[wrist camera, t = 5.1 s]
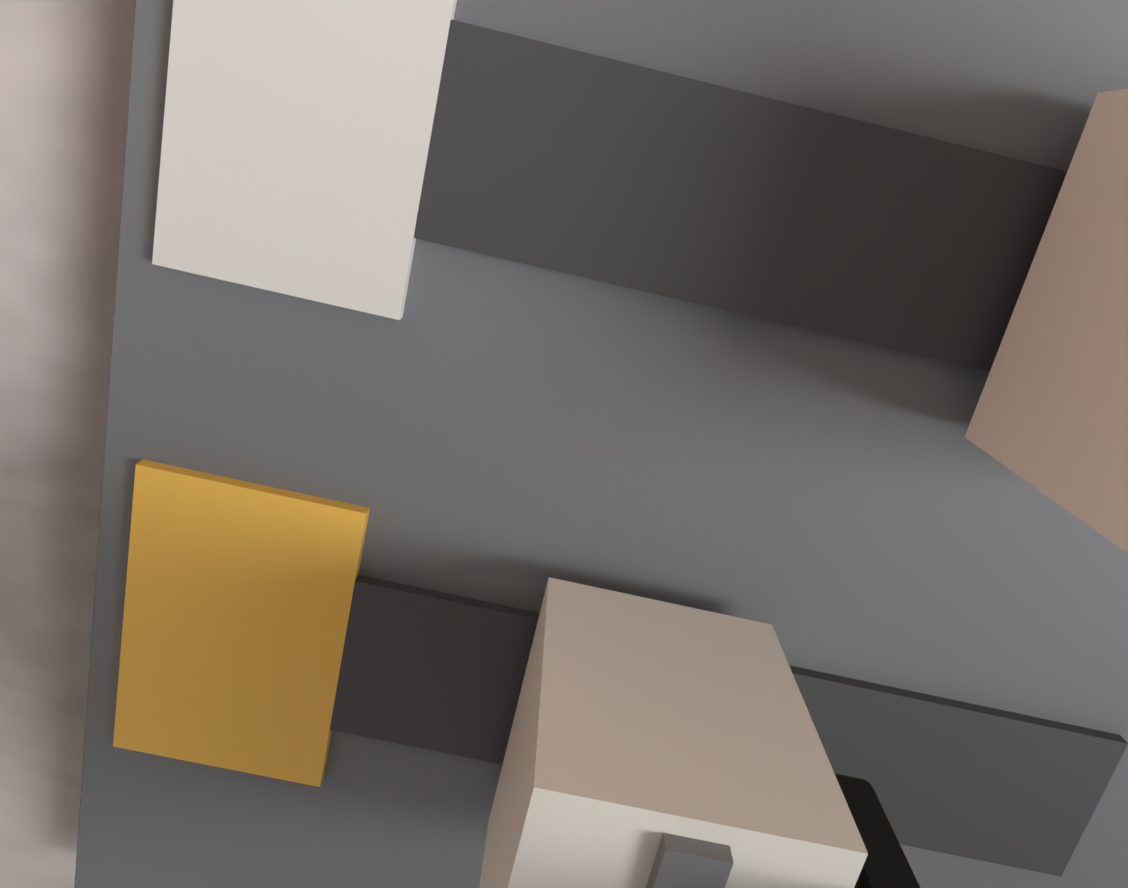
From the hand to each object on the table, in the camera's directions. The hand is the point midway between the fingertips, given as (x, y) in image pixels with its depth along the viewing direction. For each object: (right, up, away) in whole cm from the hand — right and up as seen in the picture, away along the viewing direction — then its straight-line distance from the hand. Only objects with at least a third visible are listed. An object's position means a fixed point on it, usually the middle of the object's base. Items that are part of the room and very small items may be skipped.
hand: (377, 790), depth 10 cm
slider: (+3, 0, +3) cm, 4 cm away
